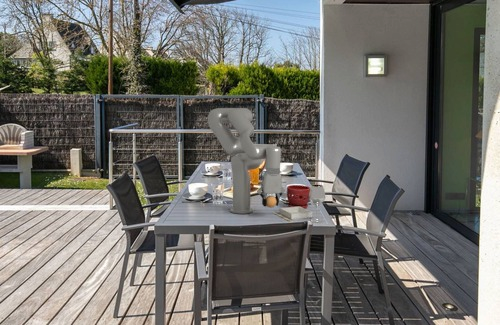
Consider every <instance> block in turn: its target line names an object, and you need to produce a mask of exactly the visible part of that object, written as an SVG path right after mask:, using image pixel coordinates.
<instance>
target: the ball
mask: <svg viewBox="0 0 500 325" xmlns="http://www.w3.org/2000/svg"><path fill="white" fill-rule="evenodd" d="M275 197H276V196H274V195H273V196H272V195H267V196H266V199H267V204H266V208H267V207H268V208H274V207H275V206H276V198H275Z"/></svg>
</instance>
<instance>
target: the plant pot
mask: <svg viewBox="0 0 500 325" xmlns="http://www.w3.org/2000/svg"><path fill="white" fill-rule="evenodd" d="M310 189H311V186H310V187H309V186H307V185H300V184H290V185H288V186H287V187H286V198H287V201H288V203H287V207H299V206H300V207H302V208H304V209H307V208H308V207H309V204H308V202H309V201H310V199H309V193H310Z"/></svg>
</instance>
